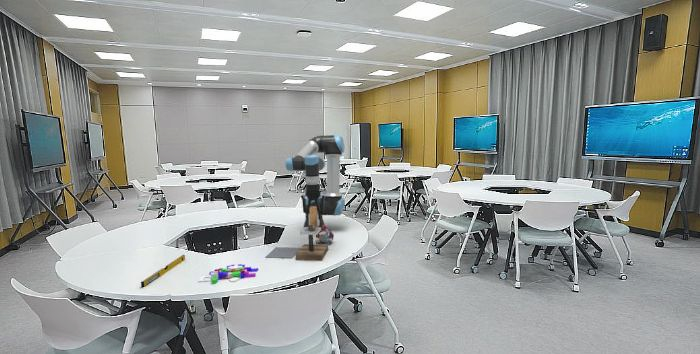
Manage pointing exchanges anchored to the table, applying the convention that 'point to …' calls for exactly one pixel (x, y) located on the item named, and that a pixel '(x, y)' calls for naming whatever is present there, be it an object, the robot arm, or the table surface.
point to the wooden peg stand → (312, 250)
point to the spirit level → (162, 271)
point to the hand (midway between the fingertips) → (314, 225)
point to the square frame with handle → (312, 223)
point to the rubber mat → (283, 252)
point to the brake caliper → (324, 236)
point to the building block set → (230, 273)
